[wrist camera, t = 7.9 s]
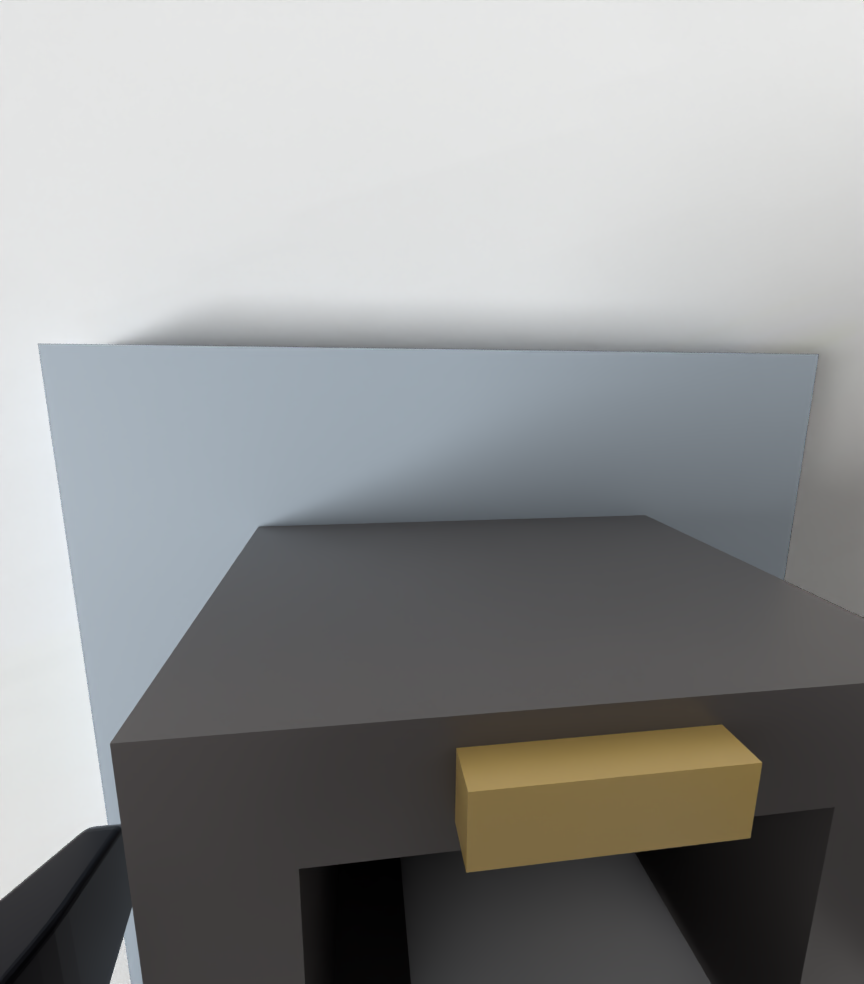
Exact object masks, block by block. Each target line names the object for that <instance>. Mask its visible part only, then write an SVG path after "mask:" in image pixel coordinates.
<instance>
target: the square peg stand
mask: <svg viewBox="0 0 864 984" xmlns="http://www.w3.org/2000/svg"><path fill="white" fill-rule="evenodd" d="M38 347H39V354H40V361H41V368H42V375H43V382H44V389H45V395H46V402H47V409H48V416H49V423H50V430H51V437H52V444H53V450H54V457H55V464H56V471H57V478H58V485H59V492H60V499H61V505H62V512H63V519H64V526H65V533H66V540H67V547H68V553H69V560H70V567H71V574H72V581H73V588H74V595H75V602H76V608H77V615H78V622H79V629H80V636H81V643H82V650H83V657H84V663H85V670H86V677H87V684H88V691H89V698H90V705H91V711H92V718H93V725H94V732H95V739H96V746H97V753H98V760H99V766H100V773H101V780H102V787H103V794H104V801H105V808H106V814H107V821H108V825H115V824H121V822H120V815H119V807H118V800H117V793H116V786H115V778H114V771H113V764H112V757H111V749H110V743H111V741H112V740H113V738H114V737H115V735H116V734H117V732H118V731H119V729H120V728H121V726H122V725H123V724H124V722H125V721H126V719H127V718H128V716H129V715H130V713H131V712H132V710H133V709H134V707H135V706H136V705H137V703H138V702H139V700H140V699H141V697H142V696H143V694H144V693H145V691H146V690H147V688H148V687H149V686H150V684H151V683H152V681H153V680H154V678H155V677H156V675H157V674H158V672H159V671H160V669H161V668H162V667H163V665H164V664H165V662H166V661H167V659H168V658H169V656H170V655H171V653H172V652H173V650H174V649H175V648H176V646H177V645H178V643H179V642H180V640H181V639H182V637H183V636H184V634H185V633H186V631H187V630H188V629H189V627H190V626H191V624H192V623H193V621H194V620H195V618H196V617H197V615H198V614H199V613H200V611H201V610H202V608H203V607H204V605H205V604H206V602H207V601H208V599H209V598H210V596H211V595H212V594H213V592H214V591H215V589H216V588H217V586H218V585H219V583H220V582H221V580H222V579H223V577H224V576H225V575H226V573H227V572H228V570H229V569H230V567H231V566H232V564H233V563H234V561H235V560H236V558H237V557H238V556H239V554H240V553H241V551H242V550H243V548H244V547H245V545H246V544H247V542H248V541H249V539H250V538H251V537H252V535H253V534H254V532H255V531H256V529H257V528H258V527H262V526H296V525H329V524H363V523H397V522H431V521H465V520H498V519H532V518H566V517H600V516H634V515H646V516H648V517H650V518H652V519H655V520H657V521H659V522H661V523H663V524H665V525H667V526H669V527H672V528H674V529H676V530H678V531H680V532H682V533H684V534H686V535H689V536H691V537H693V538H695V539H697V540H699V541H701V542H703V543H706V544H708V545H710V546H712V547H714V548H716V549H718V550H720V551H723V552H725V553H727V554H729V555H731V556H733V557H735V558H737V559H740V560H742V561H744V562H746V563H748V564H750V565H752V566H754V567H757V568H759V569H761V570H763V571H765V572H767V573H769V574H771V575H774V576H776V577H778V578H780V579H782V580H784V577H785V571H786V564H787V558H788V551H789V545H790V538H791V532H792V525H793V519H794V512H795V506H796V499H797V492H798V486H799V479H800V473H801V466H802V460H803V453H804V447H805V440H806V434H807V427H808V421H809V414H810V408H811V401H812V395H813V388H814V382H815V375H816V369H817V362H818V356H819V354H766V353H692V352H619V351H546V350H472V349H399V348H326V347H253V346H179V345H106V344H38ZM400 862H401V874H402V885H403V897H404V908H405V920H406V931H407V943H408V954H409V966H410V977H411V984H711V983H710V981H709V979H708V977H707V976H706V974H705V972H704V971H703V969H702V967H701V965H700V964H699V962H698V960H697V959H696V957H695V955H694V954H693V952H692V950H691V948H690V947H689V945H688V943H687V942H686V940H685V938H684V936H683V935H682V933H681V931H680V930H679V928H678V926H677V924H676V923H675V921H674V919H673V918H672V916H671V914H670V912H669V911H668V909H667V907H666V906H665V904H664V902H663V900H662V899H661V897H660V895H659V894H658V892H657V890H656V888H655V887H654V885H653V883H652V882H651V880H650V878H649V876H648V875H647V873H646V871H645V870H644V868H643V866H642V865H641V863H640V861H639V859H638V858H637V856H636V854H635V853H634V852H633V853H625V854H616V855H608V856H600V857H592V858H583V859H575V860H567V861H559V862H550V863H542V864H534V865H526V866H518V867H509V868H501V869H493V870H485V871H476V872H468V873H466V870H465V865H464V861H463V856H462V851H461V850H459V851H450V852H441V853H433V854H424V855H415V856H407V857H400ZM124 938H125V945H126V952H127V959H128V966H129V972H130V979H131V984H143V981H142V974H141V967H140V960H139V952H138V945H137V938H136V931H135V923H134V916H133V909H132V910H131V913H130V916H129V920H128V923H127V926H126V930H125V933H124Z"/></svg>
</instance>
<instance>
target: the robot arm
mask: <svg viewBox="0 0 864 984" xmlns="http://www.w3.org/2000/svg"><path fill="white" fill-rule="evenodd" d="M131 910H132V902H131V894H130V887H129V880H128V873H127V865H126V858H125V851H124V844H123V836H122V829H121V824H115V825H106V826H96V827H91V828H88V829H86V830H85V831H83V832H82V833H80V834H79V835H78V836H77V837H76V838H74V839H73V840H72V841H71V842H70V843H68V844H67V845H66V846H65V847H64V848H62V849H61V850H60V851H59V852H58V853H56V854H55V855H54V856H53V857H52V858H50V859H49V860H48V861H47V862H46V863H44V864H43V865H42V866H41V867H40V868H38V869H37V870H36V871H35V872H34V873H32V874H31V875H30V876H29V877H28V878H26V879H25V880H24V881H23V882H22V883H20V884H19V885H18V886H17V887H16V888H14V889H13V890H12V891H11V892H10V893H8V894H7V895H6V896H5V897H4V898H2V899H1V900H0V984H110V980H111V977H112V974H113V970H114V967H115V963H116V960H117V957H118V953H119V950H120V947H121V943H122V940H123V937H124V933H125V930H126V926H127V923H128V920H129V916H130V913H131Z"/></svg>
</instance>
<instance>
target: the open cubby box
mask: <svg viewBox="0 0 864 984" xmlns="http://www.w3.org/2000/svg"><path fill="white" fill-rule="evenodd" d="M110 749H111V757H112V764H113V771H114V778H115V786H116V793H117V800H118V807H119V815H120V822H121V829H122V836H123V844H124V851H125V858H126V865H127V873H128V880H129V887H130V894H131V902H132V909H133V916H134V923H135V931H136V938H137V945H138V952H139V960H140V967H141V974H142V981H143V984H411V977H410V966H409V954H408V943H407V931H406V920H405V908H404V897H403V885H402V874H401V862H400V857H407V856H415V855H424V854H433V853H441V852H450V851H459V850H461V851H462V856H463V861H464V865H465V870H466V873H468V872H476V871H485V870H493V869H501V868H509V867H518V866H526V865H534V864H542V863H550V862H559V861H567V860H575V859H583V858H592V857H600V856H608V855H616V854H625V853H633V852H634V853H635V854H636V856H637V858H638V859H639V861H640V863H641V865H642V866H643V868H644V870H645V871H646V873H647V875H648V876H649V878H650V880H651V882H652V883H653V885H654V887H655V888H656V890H657V892H658V894H659V895H660V897H661V899H662V900H663V902H664V904H665V906H666V907H667V909H668V911H669V912H670V914H671V916H672V918H673V919H674V921H675V923H676V924H677V926H678V928H679V930H680V931H681V933H682V935H683V936H684V938H685V940H686V942H687V943H688V945H689V947H690V948H691V950H692V952H693V954H694V955H695V957H696V959H697V960H698V962H699V964H700V965H701V967H702V969H703V971H704V972H705V974H706V976H707V977H708V979H709V981H710V983H711V984H864V618H863V617H861V616H859V615H856V614H854V613H852V612H850V611H848V610H846V609H844V608H842V607H839V606H837V605H835V604H833V603H831V602H829V601H827V600H825V599H822V598H820V597H818V596H816V595H814V594H812V593H810V592H808V591H805V590H803V589H801V588H799V587H797V586H795V585H793V584H791V583H788V582H786V581H784V580H782V579H780V578H778V577H776V576H774V575H771V574H769V573H767V572H765V571H763V570H761V569H759V568H757V567H754V566H752V565H750V564H748V563H746V562H744V561H742V560H740V559H737V558H735V557H733V556H731V555H729V554H727V553H725V552H723V551H720V550H718V549H716V548H714V547H712V546H710V545H708V544H706V543H703V542H701V541H699V540H697V539H695V538H693V537H691V536H689V535H686V534H684V533H682V532H680V531H678V530H676V529H674V528H672V527H669V526H667V525H665V524H663V523H661V522H659V521H657V520H655V519H652V518H650V517H648V516H646V515H634V516H600V517H566V518H532V519H498V520H465V521H431V522H397V523H363V524H329V525H296V526H262V527H258V528H257V529H256V531H255V532H254V534H253V535H252V537H251V538H250V539H249V541H248V542H247V544H246V545H245V547H244V548H243V550H242V551H241V553H240V554H239V556H238V557H237V558H236V560H235V561H234V563H233V564H232V566H231V567H230V569H229V570H228V572H227V573H226V575H225V576H224V577H223V579H222V580H221V582H220V583H219V585H218V586H217V588H216V589H215V591H214V592H213V594H212V595H211V596H210V598H209V599H208V601H207V602H206V604H205V605H204V607H203V608H202V610H201V611H200V613H199V614H198V615H197V617H196V618H195V620H194V621H193V623H192V624H191V626H190V627H189V629H188V630H187V631H186V633H185V634H184V636H183V637H182V639H181V640H180V642H179V643H178V645H177V646H176V648H175V649H174V650H173V652H172V653H171V655H170V656H169V658H168V659H167V661H166V662H165V664H164V665H163V667H162V668H161V669H160V671H159V672H158V674H157V675H156V677H155V678H154V680H153V681H152V683H151V684H150V686H149V687H148V688H147V690H146V691H145V693H144V694H143V696H142V697H141V699H140V700H139V702H138V703H137V705H136V706H135V707H134V709H133V710H132V712H131V713H130V715H129V716H128V718H127V719H126V721H125V722H124V724H123V725H122V726H121V728H120V729H119V731H118V732H117V734H116V735H115V737H114V738H113V740H112V741H111V743H110Z"/></svg>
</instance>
